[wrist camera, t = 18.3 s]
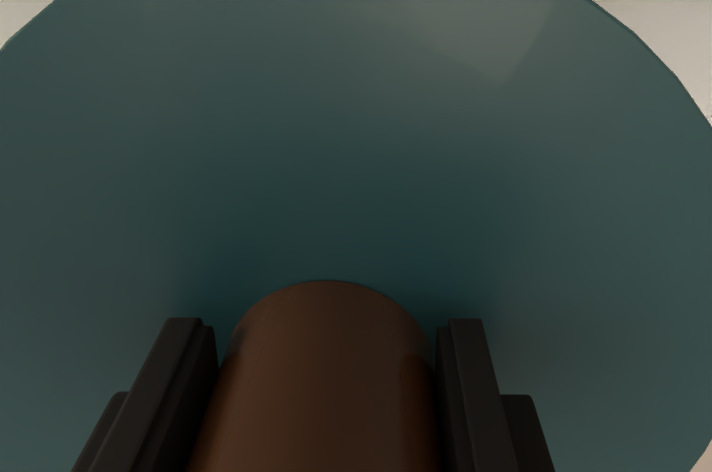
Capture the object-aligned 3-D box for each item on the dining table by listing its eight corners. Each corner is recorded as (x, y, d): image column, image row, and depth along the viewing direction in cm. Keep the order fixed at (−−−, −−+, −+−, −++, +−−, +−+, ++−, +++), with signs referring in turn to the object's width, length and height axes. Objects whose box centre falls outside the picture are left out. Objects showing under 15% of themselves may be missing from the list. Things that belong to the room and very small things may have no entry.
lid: (-184, 331, 14) (-615, 655, 8) (307, -350, 9) (147, -931, 3) (345, 661, 18) (328, 1032, 12) (879, 336, 13) (1304, 699, 7)
